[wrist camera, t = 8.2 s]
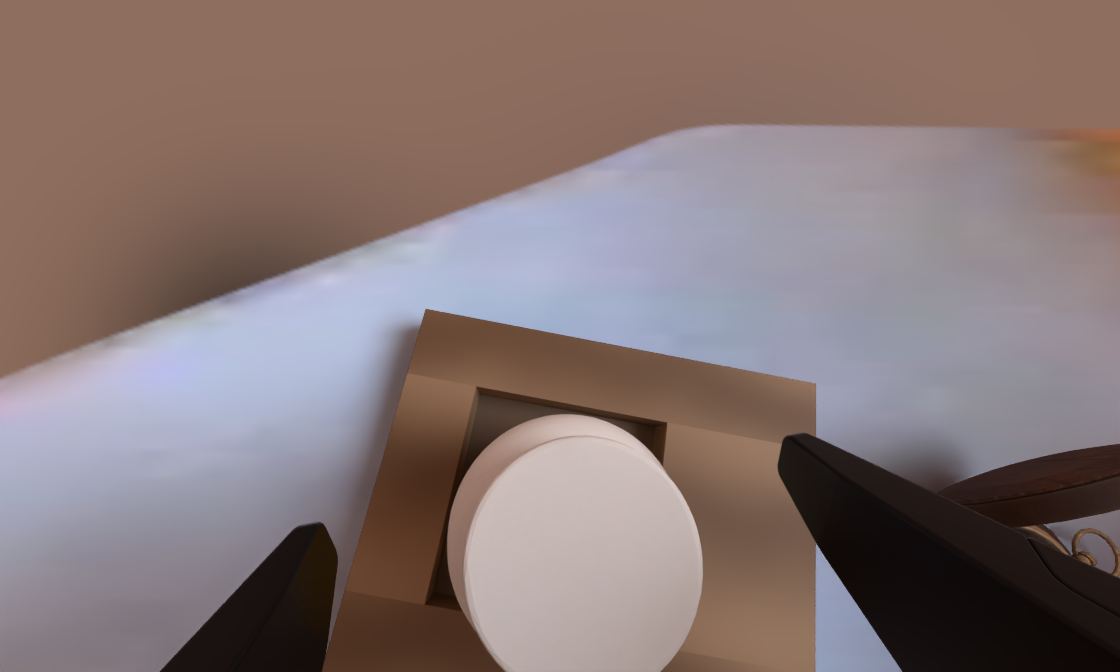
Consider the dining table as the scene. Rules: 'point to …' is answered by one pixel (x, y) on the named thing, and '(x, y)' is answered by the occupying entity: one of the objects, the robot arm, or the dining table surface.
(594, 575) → the supplement bottle
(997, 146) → the dining table surface
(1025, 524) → the compass
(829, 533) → the robot arm
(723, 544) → the socket board
